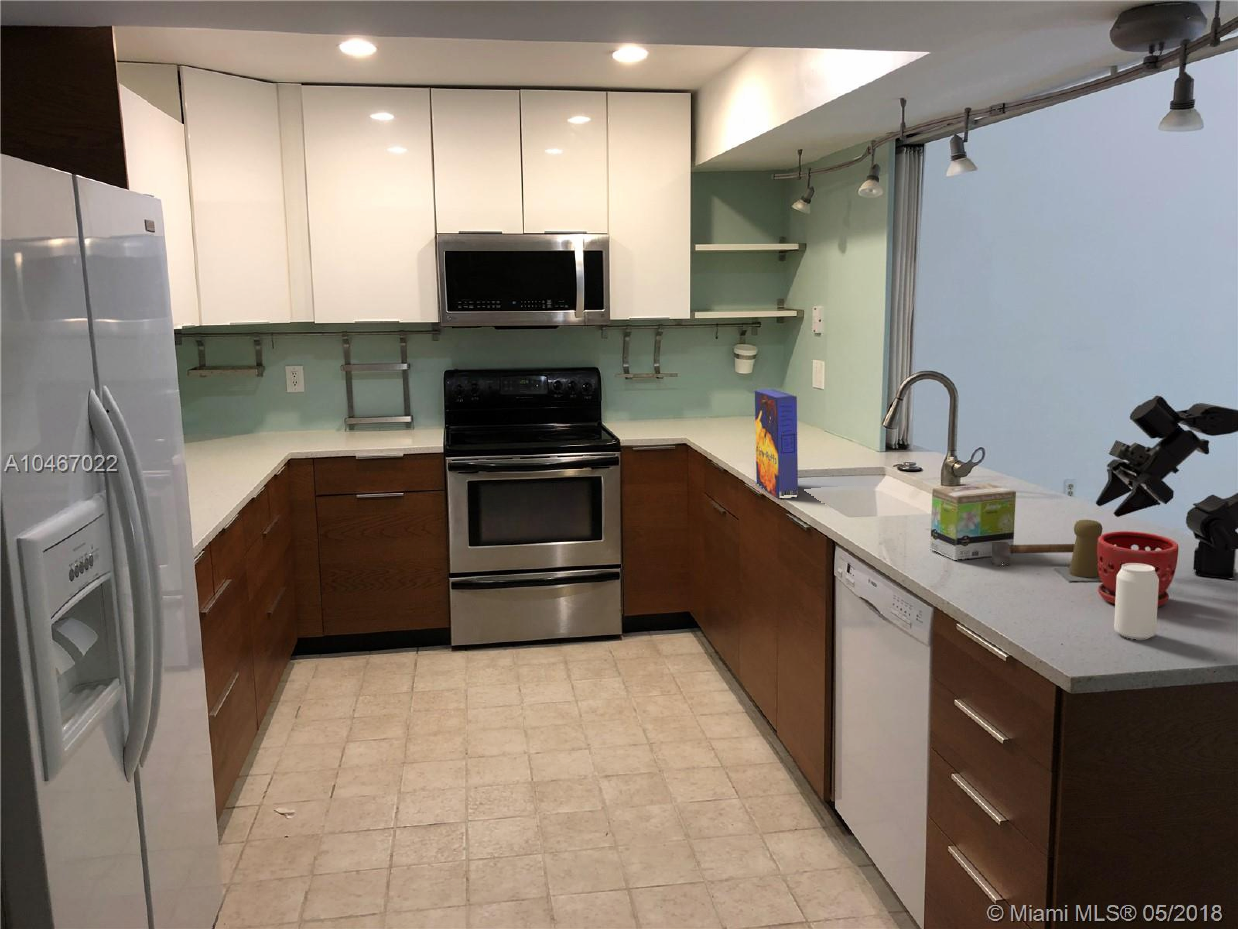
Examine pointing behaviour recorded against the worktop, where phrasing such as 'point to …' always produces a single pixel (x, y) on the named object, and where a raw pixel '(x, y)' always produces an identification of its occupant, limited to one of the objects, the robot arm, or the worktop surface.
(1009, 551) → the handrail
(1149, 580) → the beverage can
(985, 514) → the tea box
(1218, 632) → the worktop surface
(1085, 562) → the cork
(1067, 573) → the pad
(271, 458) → the worktop surface
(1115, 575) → the plant pot
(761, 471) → the cereal box
